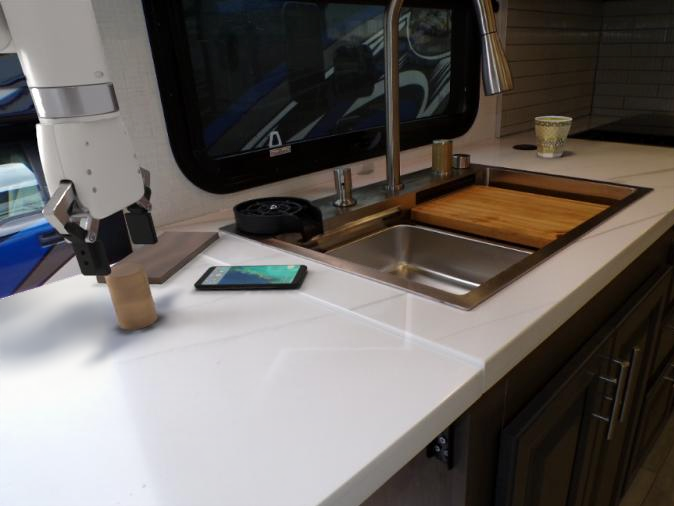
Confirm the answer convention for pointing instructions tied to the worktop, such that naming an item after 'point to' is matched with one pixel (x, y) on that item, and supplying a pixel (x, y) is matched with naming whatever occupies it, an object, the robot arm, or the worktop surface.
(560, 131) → the ceramic cup
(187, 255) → the walnut board
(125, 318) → the wooden cylinder
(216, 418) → the worktop surface
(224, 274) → the smartphone
